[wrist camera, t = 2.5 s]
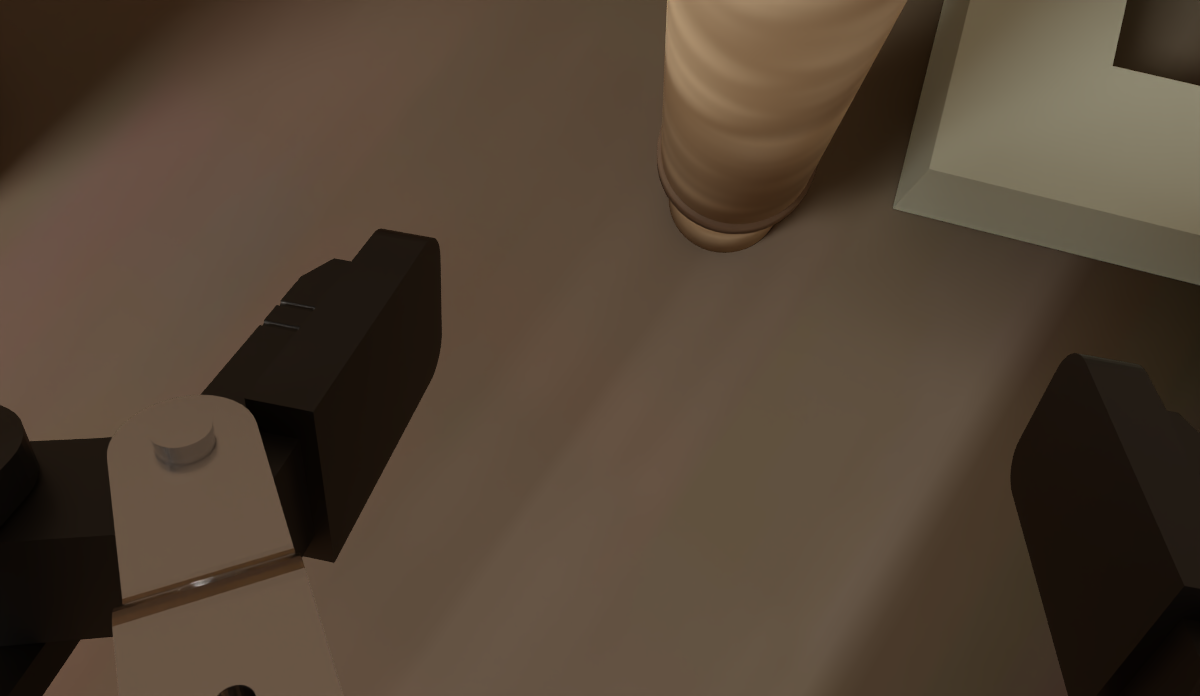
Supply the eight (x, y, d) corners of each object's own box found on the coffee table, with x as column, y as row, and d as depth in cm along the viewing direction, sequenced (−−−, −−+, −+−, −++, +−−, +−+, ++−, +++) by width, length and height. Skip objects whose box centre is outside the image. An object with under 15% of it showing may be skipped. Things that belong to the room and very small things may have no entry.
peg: (640, 245, 27) (629, -80, 11) (675, 119, 27) (714, -364, 12) (773, 280, 26) (959, -6, 11) (807, 152, 27) (1033, -302, 11)
